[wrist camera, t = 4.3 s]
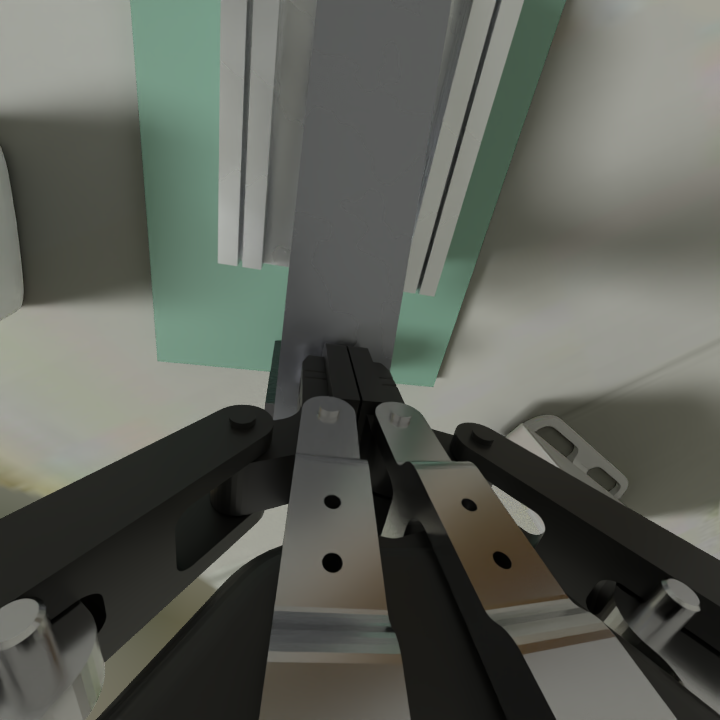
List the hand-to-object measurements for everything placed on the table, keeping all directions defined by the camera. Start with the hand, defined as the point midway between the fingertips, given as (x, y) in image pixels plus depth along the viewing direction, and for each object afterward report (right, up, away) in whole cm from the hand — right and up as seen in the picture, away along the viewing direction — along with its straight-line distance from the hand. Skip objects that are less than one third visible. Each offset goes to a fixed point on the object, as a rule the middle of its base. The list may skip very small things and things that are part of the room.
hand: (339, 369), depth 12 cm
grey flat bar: (+1, +8, 0) cm, 8 cm away
